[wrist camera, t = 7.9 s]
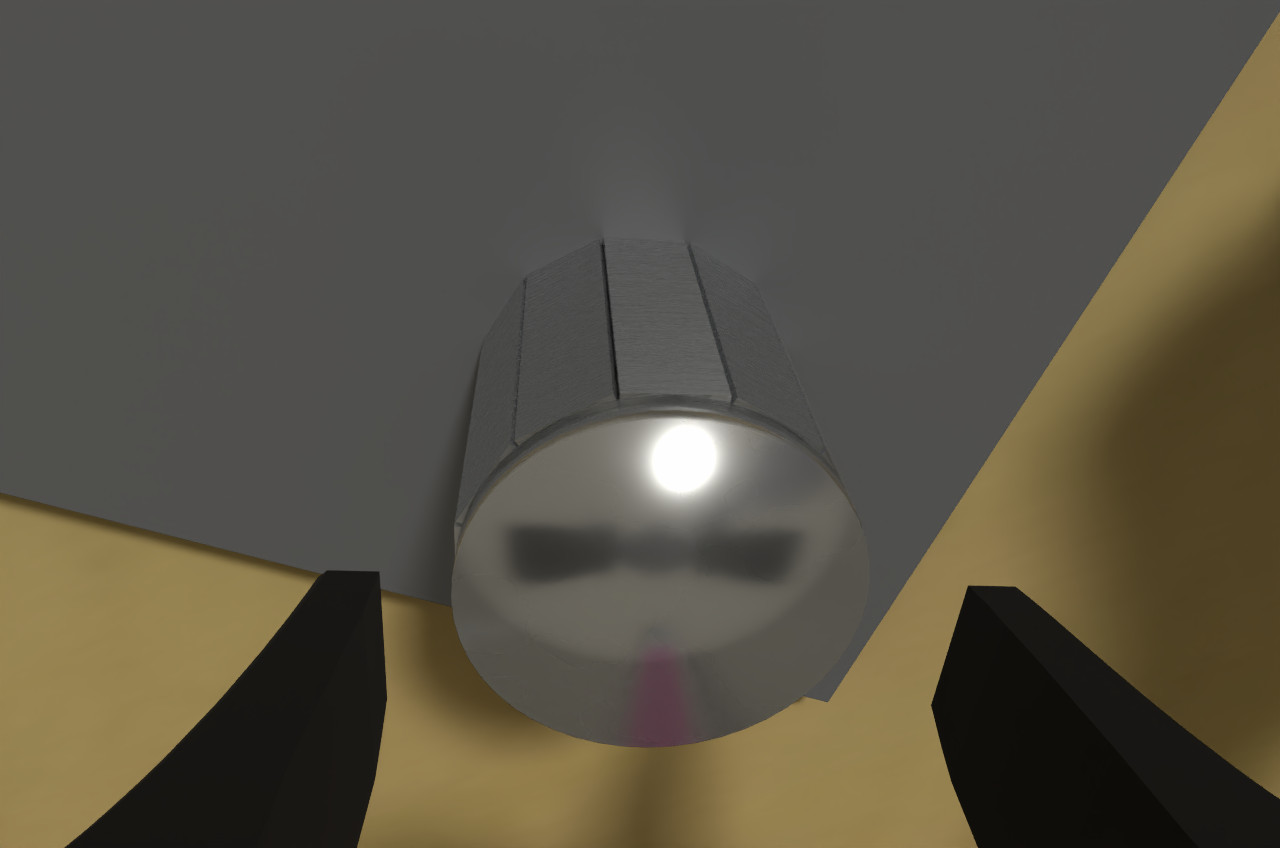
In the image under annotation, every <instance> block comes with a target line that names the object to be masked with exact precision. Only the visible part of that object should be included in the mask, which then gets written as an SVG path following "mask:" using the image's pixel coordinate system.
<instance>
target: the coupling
mask: <svg viewBox="0 0 1280 848" xmlns="http://www.w3.org/2000/svg"><path fill="white" fill-rule="evenodd" d="M862 528H864V527H863V525H862V523H861V521H860V518H859V516H858V514H857V511H856V509H855V507H854V504H853V502H852V500H851V497H850V495H849V493H848V490H847V488H846V486H845V483H844V481H843V479H842V476H841V474H840V472H839V470H838V467H837V465H836V463H835V460H834V458H833V456H832V453H831V451H830V449H829V446H828V444H827V442H826V439H825V437H824V435H823V432H822V430H821V428H820V425H819V423H818V421H817V418H816V416H815V414H814V412H813V409H812V407H811V405H810V402H809V400H808V398H807V395H806V393H805V391H804V388H803V386H802V384H801V381H800V379H799V377H798V374H797V372H796V370H795V367H794V365H793V363H792V361H791V358H790V356H789V354H788V351H787V349H786V347H785V345H784V342H783V340H782V338H781V336H780V334H779V332H778V330H777V327H776V325H775V323H774V321H773V319H772V317H771V315H770V312H769V310H768V308H767V306H766V304H765V302H764V300H763V297H762V295H761V293H760V291H759V289H758V287H757V286H755V283H754V282H752V281H751V280H749V279H748V278H746V277H744V276H743V275H741V274H740V273H738V272H736V271H735V270H733V269H732V268H730V267H729V266H727V265H725V264H724V263H722V262H721V261H719V260H717V259H716V258H714V257H713V256H711V255H709V254H708V253H706V252H705V251H703V250H702V249H700V248H698V247H697V246H695V245H694V244H692V243H689V244H688V245H686V242H685V241H681V240H657V239H633V238H608V237H604V246H603V245H602V243H601V241H600V239H597V240H595V241H593V242H591V243H589V244H587V245H585V246H583V247H581V248H579V249H577V250H575V251H573V252H571V253H569V254H567V255H565V256H562V257H560V258H558V259H556V260H554V261H552V262H550V263H548V264H546V265H544V266H542V267H540V268H538V269H536V270H534V271H532V272H530V273H528V274H527V279H526V278H524V277H523V279H522V280H521V282H520V283H519V285H518V287H517V288H516V290H515V291H514V293H513V294H512V296H511V297H510V299H509V300H508V302H507V304H506V305H505V307H504V308H503V310H502V311H501V313H500V314H499V316H498V318H497V319H496V321H495V322H494V324H493V325H492V327H491V328H490V330H489V331H488V333H487V335H486V336H485V338H484V339H483V343H482V348H481V355H480V361H479V368H478V374H477V381H476V387H475V394H474V400H473V407H472V413H471V420H470V426H469V433H468V439H467V446H466V452H465V459H464V466H463V472H462V479H461V485H460V492H459V498H458V505H457V511H456V518H455V524H454V539H455V561H454V568H453V575H452V591H451V601H452V610H453V618H454V622H455V626H456V629H457V633H458V636H459V639H460V642H461V644H462V646H463V648H464V650H465V652H466V654H467V656H468V658H469V660H470V662H471V663H472V664H473V666H474V667H475V669H476V670H477V672H478V673H479V675H480V676H481V677H482V679H483V680H484V681H485V682H486V683H487V684H488V685H489V686H490V687H491V688H492V689H493V690H494V691H495V693H496V694H498V695H499V696H500V697H501V698H503V699H504V700H505V701H506V702H507V703H509V704H510V705H511V706H512V707H514V708H515V709H517V710H518V711H520V712H521V713H523V714H525V715H526V716H528V717H529V718H531V719H533V720H535V721H537V722H539V723H541V724H543V725H545V726H547V727H549V728H551V729H553V730H556V731H559V732H562V733H565V734H567V735H570V736H573V737H576V738H580V739H584V740H589V741H593V742H597V743H602V744H610V745H617V746H626V747H667V746H678V745H685V744H692V743H698V742H702V741H706V740H711V739H715V738H719V737H723V736H726V735H728V734H731V733H734V732H737V731H740V730H743V729H746V728H748V727H750V726H752V725H755V724H757V723H759V722H761V721H764V720H766V719H768V718H769V717H771V716H773V715H775V714H776V713H778V712H780V711H782V710H783V709H785V708H787V707H788V706H790V705H791V704H792V703H794V702H795V701H797V700H798V699H799V698H801V697H802V696H803V695H805V694H806V693H807V692H808V691H810V690H811V689H812V688H813V687H814V686H815V685H816V684H817V683H818V682H819V681H821V680H822V679H823V678H824V677H825V676H826V674H827V673H828V672H829V671H830V670H831V669H832V668H833V666H834V665H835V664H836V663H837V662H838V661H839V659H840V658H841V656H842V655H843V653H844V652H845V650H846V649H847V647H848V646H849V644H850V643H851V641H852V639H853V637H854V634H855V632H856V630H857V628H858V626H859V624H860V622H861V619H862V615H863V612H864V609H865V606H866V603H867V597H868V590H869V583H870V562H869V554H868V549H867V544H866V539H865V536H864V531H863V529H862Z"/></svg>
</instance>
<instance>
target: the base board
mask: <svg viewBox="0 0 1280 848" xmlns="http://www.w3.org/2000/svg"><path fill="white" fill-rule="evenodd" d="M1279 12H1280V0H0V493H4V494H8V495H12V496H16V497H20V498H24V499H28V500H32V501H36V502H40V503H43V504H47V505H51V506H55V507H59V508H63V509H67V510H71V511H75V512H79V513H83V514H87V515H91V516H95V517H99V518H103V519H107V520H111V521H115V522H118V523H122V524H126V525H130V526H134V527H138V528H142V529H146V530H150V531H154V532H158V533H162V534H166V535H170V536H174V537H178V538H182V539H186V540H189V541H193V542H197V543H201V544H205V545H209V546H213V547H217V548H221V549H225V550H229V551H233V552H237V553H241V554H245V555H249V556H253V557H257V558H261V559H264V560H268V561H272V562H276V563H280V564H284V565H288V566H292V567H296V568H300V569H304V570H308V571H312V572H316V573H320V574H323V573H324V572H325V571H327V570H341V571H380V588H381V589H383V590H387V591H391V592H395V593H399V594H403V595H407V596H410V597H414V598H418V599H422V600H426V601H430V602H434V603H438V604H442V605H446V606H450V607H452V601H451V591H452V575H453V568H454V561H455V539H454V524H455V518H456V511H457V505H458V498H459V492H460V485H461V479H462V472H463V466H464V459H465V452H466V446H467V439H468V433H469V426H470V420H471V413H472V407H473V400H474V394H475V387H476V381H477V374H478V368H479V361H480V355H481V348H482V343H483V339H484V338H485V336H486V335H487V333H488V331H489V330H490V328H491V327H492V325H493V324H494V322H495V321H496V319H497V318H498V316H499V314H500V313H501V311H502V310H503V308H504V307H505V305H506V304H507V302H508V300H509V299H510V297H511V296H512V294H513V293H514V291H515V290H516V288H517V287H518V285H519V283H520V282H521V280H522V279H523V277H524V278H526V279H527V274H528V273H530V272H532V271H534V270H536V269H538V268H540V267H542V266H544V265H546V264H548V263H550V262H552V261H554V260H556V259H558V258H560V257H562V256H565V255H567V254H569V253H571V252H573V251H575V250H577V249H579V248H581V247H583V246H585V245H587V244H589V243H591V242H593V241H595V240H597V239H600V241H601V243H602V245H603V246H604V237H608V238H633V239H657V240H681V241H685V242H686V245H688V244H689V243H692V244H694V245H695V246H697V247H698V248H700V249H702V250H703V251H705V252H706V253H708V254H709V255H711V256H713V257H714V258H716V259H717V260H719V261H721V262H722V263H724V264H725V265H727V266H729V267H730V268H732V269H733V270H735V271H736V272H738V273H740V274H741V275H743V276H744V277H746V278H748V279H749V280H751V281H752V282H754V283H755V286H757V287H758V289H759V291H760V293H761V295H762V297H763V300H764V302H765V304H766V306H767V308H768V310H769V312H770V315H771V317H772V319H773V321H774V323H775V325H776V327H777V330H778V332H779V334H780V336H781V338H782V340H783V342H784V345H785V347H786V349H787V351H788V354H789V356H790V358H791V361H792V363H793V365H794V367H795V370H796V372H797V374H798V377H799V379H800V381H801V384H802V386H803V388H804V391H805V393H806V395H807V398H808V400H809V402H810V405H811V407H812V409H813V412H814V414H815V416H816V418H817V421H818V423H819V425H820V428H821V430H822V432H823V435H824V437H825V439H826V442H827V444H828V446H829V449H830V451H831V453H832V456H833V458H834V460H835V463H836V465H837V467H838V470H839V472H840V474H841V476H842V479H843V481H844V483H845V486H846V488H847V490H848V493H849V495H850V497H851V500H852V502H853V504H854V507H855V509H856V511H857V514H858V516H859V518H860V521H861V523H862V525H863V527H864V528H862V529H863V531H864V536H865V539H866V544H867V549H868V554H869V562H870V583H869V590H868V597H867V603H866V606H865V609H864V612H863V615H862V619H861V622H860V624H859V626H858V628H857V630H856V632H855V634H854V637H853V639H852V641H851V643H850V644H849V646H848V647H847V649H846V650H845V652H844V653H843V655H842V656H841V658H840V659H839V661H838V662H837V663H836V664H835V665H834V666H833V668H832V669H831V670H830V671H829V672H828V673H827V674H826V676H825V677H824V678H823V679H822V680H821V681H819V682H818V683H817V684H816V685H815V686H814V687H813V688H812V689H811V690H810V691H808V692H807V693H806V694H805V695H803V696H805V697H809V698H813V699H817V700H821V701H825V702H828V701H829V700H830V698H831V697H832V695H833V694H834V692H835V691H836V689H837V687H838V686H839V684H840V683H841V681H842V680H843V678H844V677H845V675H846V674H847V672H848V671H849V669H850V668H851V666H852V665H853V663H854V661H855V660H856V658H857V657H858V655H859V654H860V652H861V651H862V649H863V648H864V646H865V645H866V643H867V642H868V640H869V639H870V637H871V636H872V634H873V632H874V631H875V629H876V628H877V626H878V625H879V623H880V622H881V620H882V619H883V617H884V616H885V614H886V613H887V611H888V610H889V608H890V606H891V605H892V603H893V602H894V600H895V599H896V597H897V596H898V594H899V593H900V591H901V590H902V588H903V587H904V585H905V584H906V582H907V580H908V579H909V577H910V576H911V574H912V573H913V571H914V570H915V568H916V567H917V565H918V564H919V562H920V561H921V559H922V558H923V556H924V554H925V553H926V551H927V550H928V548H929V547H930V545H931V544H932V542H933V541H934V539H935V538H936V536H937V535H938V533H939V532H940V530H941V529H942V527H943V525H944V524H945V522H946V521H947V519H948V518H949V516H950V515H951V513H952V512H953V510H954V509H955V507H956V506H957V504H958V503H959V501H960V499H961V498H962V496H963V495H964V493H965V492H966V490H967V489H968V487H969V486H970V484H971V483H972V481H973V480H974V478H975V477H976V475H977V473H978V472H979V470H980V469H981V467H982V466H983V464H984V463H985V461H986V460H987V458H988V457H989V455H990V454H991V452H992V451H993V449H994V448H995V446H996V444H997V443H998V441H999V440H1000V438H1001V437H1002V435H1003V434H1004V432H1005V431H1006V429H1007V428H1008V426H1009V425H1010V423H1011V422H1012V420H1013V418H1014V417H1015V415H1016V414H1017V412H1018V411H1019V409H1020V408H1021V406H1022V405H1023V403H1024V402H1025V400H1026V399H1027V397H1028V396H1029V394H1030V392H1031V391H1032V389H1033V388H1034V386H1035V385H1036V383H1037V382H1038V380H1039V379H1040V377H1041V376H1042V374H1043V373H1044V371H1045V370H1046V368H1047V367H1048V365H1049V363H1050V362H1051V360H1052V359H1053V357H1054V356H1055V354H1056V353H1057V351H1058V350H1059V348H1060V347H1061V345H1062V344H1063V342H1064V341H1065V339H1066V337H1067V336H1068V334H1069V333H1070V331H1071V330H1072V328H1073V327H1074V325H1075V324H1076V322H1077V321H1078V319H1079V318H1080V316H1081V315H1082V313H1083V311H1084V310H1085V308H1086V307H1087V305H1088V304H1089V302H1090V301H1091V299H1092V298H1093V296H1094V295H1095V293H1096V292H1097V290H1098V289H1099V287H1100V286H1101V284H1102V282H1103V281H1104V279H1105V278H1106V276H1107V275H1108V273H1109V272H1110V270H1111V269H1112V267H1113V266H1114V264H1115V263H1116V261H1117V260H1118V258H1119V256H1120V255H1121V253H1122V252H1123V250H1124V249H1125V247H1126V246H1127V244H1128V243H1129V241H1130V240H1131V238H1132V237H1133V235H1134V234H1135V232H1136V230H1137V229H1138V227H1139V226H1140V224H1141V223H1142V221H1143V220H1144V218H1145V217H1146V215H1147V214H1148V212H1149V211H1150V209H1151V208H1152V206H1153V204H1154V203H1155V201H1156V200H1157V198H1158V197H1159V195H1160V194H1161V192H1162V191H1163V189H1164V188H1165V186H1166V185H1167V183H1168V182H1169V180H1170V179H1171V177H1172V175H1173V174H1174V172H1175V171H1176V169H1177V168H1178V166H1179V165H1180V163H1181V162H1182V160H1183V159H1184V157H1185V156H1186V154H1187V153H1188V151H1189V149H1190V148H1191V146H1192V145H1193V143H1194V142H1195V140H1196V139H1197V137H1198V136H1199V134H1200V133H1201V131H1202V130H1203V128H1204V127H1205V125H1206V123H1207V122H1208V120H1209V119H1210V117H1211V116H1212V114H1213V113H1214V111H1215V110H1216V108H1217V107H1218V105H1219V104H1220V102H1221V101H1222V99H1223V98H1224V96H1225V94H1226V93H1227V91H1228V90H1229V88H1230V87H1231V85H1232V84H1233V82H1234V81H1235V79H1236V78H1237V76H1238V75H1239V73H1240V72H1241V70H1242V68H1243V67H1244V65H1245V64H1246V62H1247V61H1248V59H1249V58H1250V56H1251V55H1252V53H1253V52H1254V50H1255V49H1256V47H1257V46H1258V44H1259V42H1260V41H1261V39H1262V38H1263V36H1264V35H1265V33H1266V32H1267V30H1268V29H1269V27H1270V26H1271V24H1272V23H1273V21H1274V20H1275V18H1276V17H1277V15H1278V13H1279Z"/></svg>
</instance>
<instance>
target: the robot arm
mask: <svg viewBox="0 0 1280 848" xmlns="http://www.w3.org/2000/svg"><path fill="white" fill-rule="evenodd" d="M386 702H387V690H386V673H385V656H384V639H383V622H382V605H381V588H380V571H341V570H327V571H325V572H324V573H323V574H322V575H320V576H319V577H318V578H317V579H316V581H315V582H314V584H313V585H312V586H311V588H310V589H309V591H308V592H307V593H306V595H305V596H304V597H303V599H302V600H301V601H300V603H299V604H298V605H297V607H296V608H295V609H294V611H293V612H292V613H291V615H290V616H289V617H288V619H287V620H286V621H285V622H284V624H283V625H282V626H281V628H280V629H279V630H278V631H277V633H276V634H275V635H274V636H273V638H272V639H271V640H270V641H269V643H268V644H267V645H266V646H265V648H264V649H263V650H262V651H261V652H260V654H259V655H258V656H257V657H256V658H255V659H254V661H253V662H252V663H251V664H250V665H249V666H248V668H247V669H246V670H245V671H244V672H243V673H242V675H241V676H240V677H239V678H238V679H237V680H236V682H235V683H234V684H233V685H232V686H231V687H230V689H229V690H228V691H227V692H226V693H225V694H224V696H223V697H222V698H221V699H220V700H219V701H218V702H217V703H216V704H215V706H214V707H213V708H212V709H211V710H210V711H209V712H208V713H207V714H206V715H205V716H204V717H203V718H202V719H201V720H200V721H199V722H198V723H197V724H196V726H195V727H194V728H193V729H192V730H191V731H190V732H189V733H188V734H187V735H186V736H185V737H184V738H183V739H182V740H181V741H180V742H179V743H178V744H177V745H176V746H175V748H174V749H173V750H172V751H171V752H170V753H169V754H168V755H167V756H166V757H165V758H164V759H163V760H162V761H161V762H160V763H159V764H158V765H157V766H156V767H155V768H154V769H152V770H151V771H150V772H149V773H148V774H147V775H146V776H145V777H144V778H143V779H142V780H141V781H140V782H139V783H138V784H137V785H136V786H135V787H134V788H133V789H131V790H130V791H129V792H128V793H127V794H126V795H125V796H124V797H123V798H122V799H120V800H119V801H118V802H117V803H116V804H115V805H114V806H113V807H112V808H110V809H109V810H108V811H107V812H106V813H105V814H104V815H103V816H102V817H100V818H99V819H98V820H97V821H96V822H95V823H94V824H92V825H91V826H90V827H89V828H88V829H87V830H85V831H84V832H83V833H82V834H81V835H79V836H78V837H77V838H76V839H74V840H73V841H72V842H71V843H70V844H68V845H67V846H66V847H65V848H357V845H358V841H359V838H360V834H361V830H362V826H363V823H364V819H365V815H366V811H367V808H368V804H369V800H370V796H371V792H372V788H373V785H374V781H375V776H376V770H377V763H378V757H379V750H380V744H381V737H382V730H383V723H384V716H385V709H386ZM931 706H932V710H933V714H934V718H935V722H936V726H937V730H938V734H939V738H940V742H941V746H942V750H943V754H944V757H945V761H946V764H947V768H948V771H949V775H950V778H951V782H952V784H953V787H954V789H955V792H956V794H957V797H958V800H959V802H960V804H961V807H962V809H963V812H964V814H965V817H966V819H967V822H968V824H969V827H970V829H971V832H972V834H973V836H974V839H975V841H976V844H977V846H978V848H1280V799H1279V798H1277V797H1276V796H1274V795H1273V794H1271V793H1270V792H1268V791H1267V790H1266V789H1264V788H1263V787H1261V786H1260V785H1259V784H1257V783H1256V782H1254V781H1253V780H1252V779H1250V778H1249V777H1247V776H1246V775H1245V774H1243V773H1242V772H1241V771H1239V770H1238V769H1236V768H1235V767H1234V766H1233V765H1231V764H1230V763H1229V762H1227V761H1226V760H1225V759H1223V758H1222V757H1221V756H1219V755H1218V754H1217V753H1215V752H1214V751H1213V750H1212V749H1210V748H1209V747H1208V746H1206V745H1205V744H1204V743H1202V742H1201V741H1200V740H1198V739H1197V738H1196V737H1195V736H1193V735H1192V734H1191V733H1189V732H1188V731H1187V730H1186V729H1184V728H1183V727H1182V726H1181V725H1179V724H1178V723H1177V722H1176V721H1174V720H1173V719H1172V718H1171V717H1169V716H1168V715H1167V714H1166V713H1164V712H1163V711H1162V710H1161V709H1159V708H1158V707H1157V706H1156V705H1155V704H1153V703H1152V702H1151V701H1150V700H1149V699H1147V698H1146V697H1145V696H1144V695H1143V694H1141V693H1140V692H1139V691H1138V690H1137V689H1135V688H1134V687H1133V686H1132V685H1131V684H1129V683H1128V682H1127V681H1126V680H1125V679H1124V678H1122V677H1121V676H1120V675H1119V674H1118V673H1117V672H1115V671H1114V670H1113V669H1112V668H1111V667H1110V666H1108V665H1107V664H1106V663H1105V662H1104V661H1103V660H1101V659H1100V658H1099V657H1098V656H1097V655H1096V654H1094V653H1093V652H1092V651H1091V650H1090V649H1089V648H1088V647H1086V646H1085V645H1084V644H1083V643H1082V642H1081V641H1079V640H1078V639H1077V638H1076V637H1075V636H1074V635H1073V634H1071V633H1070V632H1069V631H1068V630H1067V629H1066V628H1064V627H1063V626H1062V625H1061V624H1060V623H1059V622H1058V621H1056V620H1055V619H1054V618H1053V617H1052V616H1051V615H1049V614H1048V613H1047V612H1046V611H1045V610H1043V609H1042V608H1041V607H1040V606H1039V605H1038V604H1036V603H1035V602H1034V601H1033V600H1031V599H1030V598H1029V597H1028V596H1026V595H1025V594H1024V593H1023V592H1021V591H1020V590H1019V589H1018V588H1016V587H1005V586H968V588H967V591H966V594H965V598H964V601H963V604H962V607H961V610H960V614H959V617H958V620H957V623H956V627H955V630H954V633H953V636H952V640H951V643H950V646H949V649H948V652H947V656H946V659H945V662H944V665H943V669H942V672H941V675H940V678H939V682H938V685H937V688H936V691H935V695H934V698H933V701H932V704H931Z"/></svg>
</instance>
